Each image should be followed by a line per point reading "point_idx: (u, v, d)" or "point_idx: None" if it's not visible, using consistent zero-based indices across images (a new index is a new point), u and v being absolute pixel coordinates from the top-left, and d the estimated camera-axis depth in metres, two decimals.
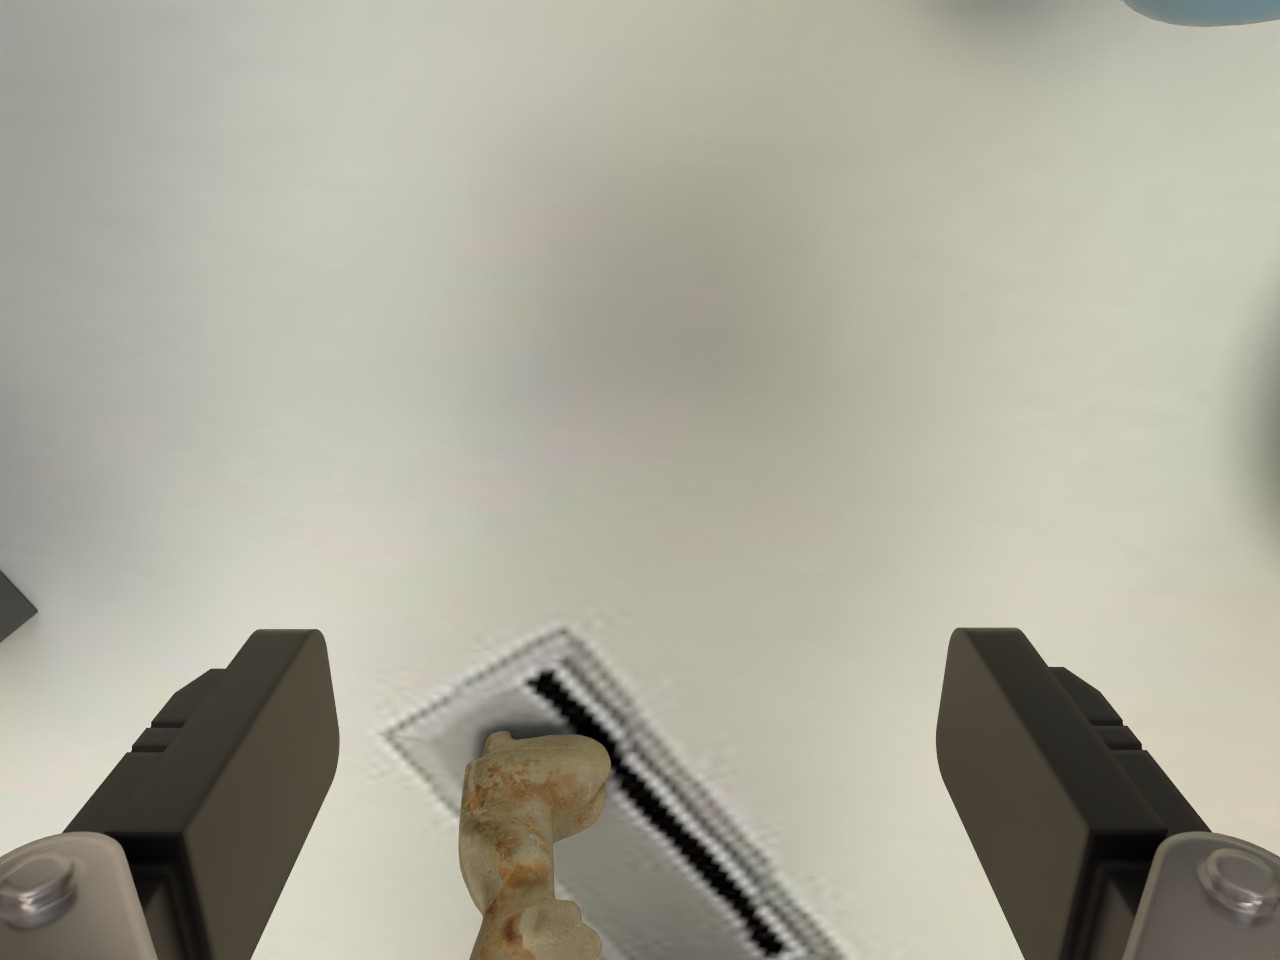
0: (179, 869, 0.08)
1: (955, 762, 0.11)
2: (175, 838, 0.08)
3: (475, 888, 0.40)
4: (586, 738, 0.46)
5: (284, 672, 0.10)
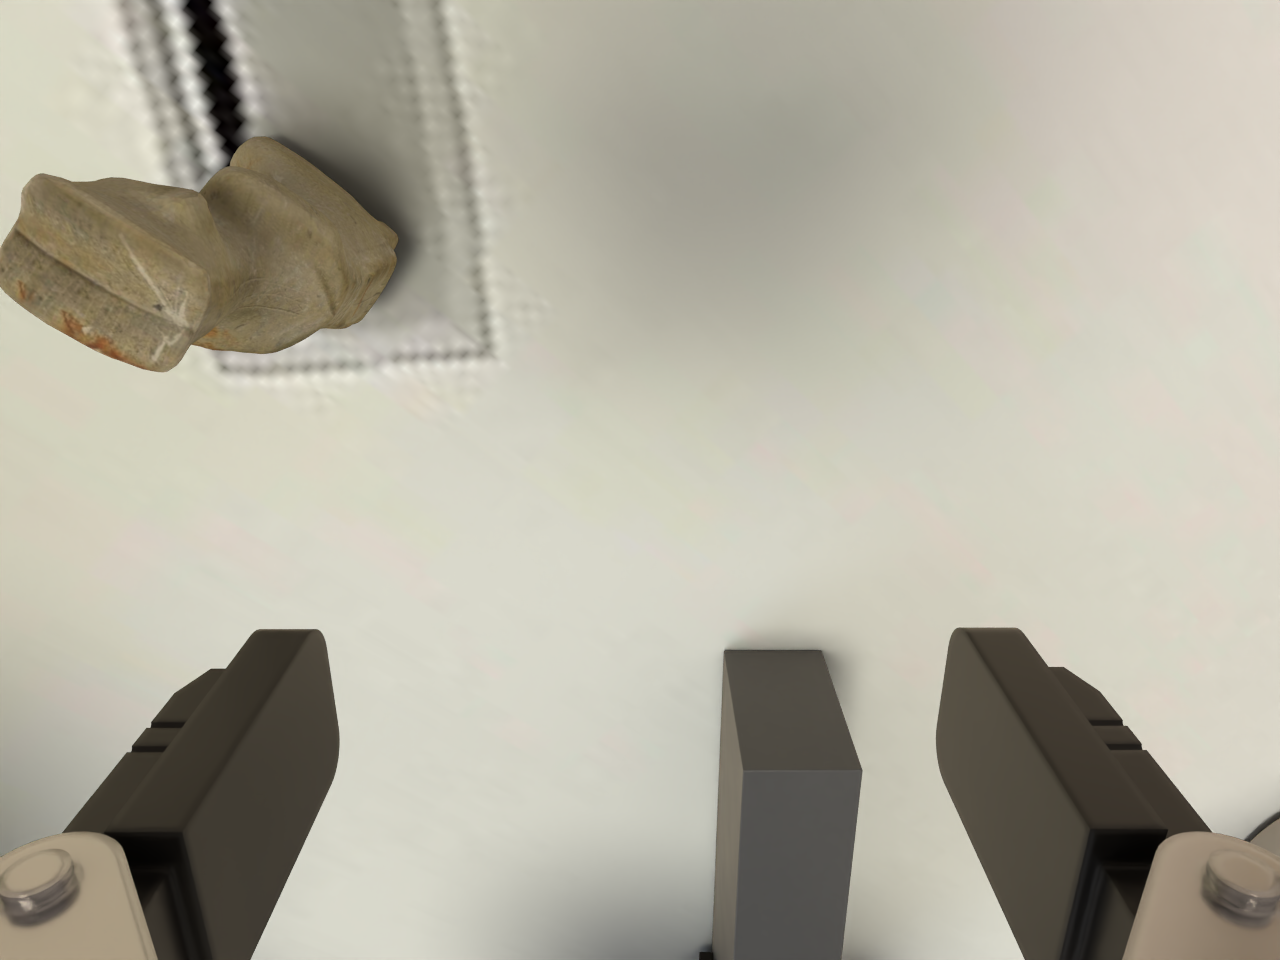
0: (179, 869, 0.08)
1: (955, 762, 0.11)
2: (175, 838, 0.08)
3: (297, 284, 0.29)
4: None
5: (284, 672, 0.10)
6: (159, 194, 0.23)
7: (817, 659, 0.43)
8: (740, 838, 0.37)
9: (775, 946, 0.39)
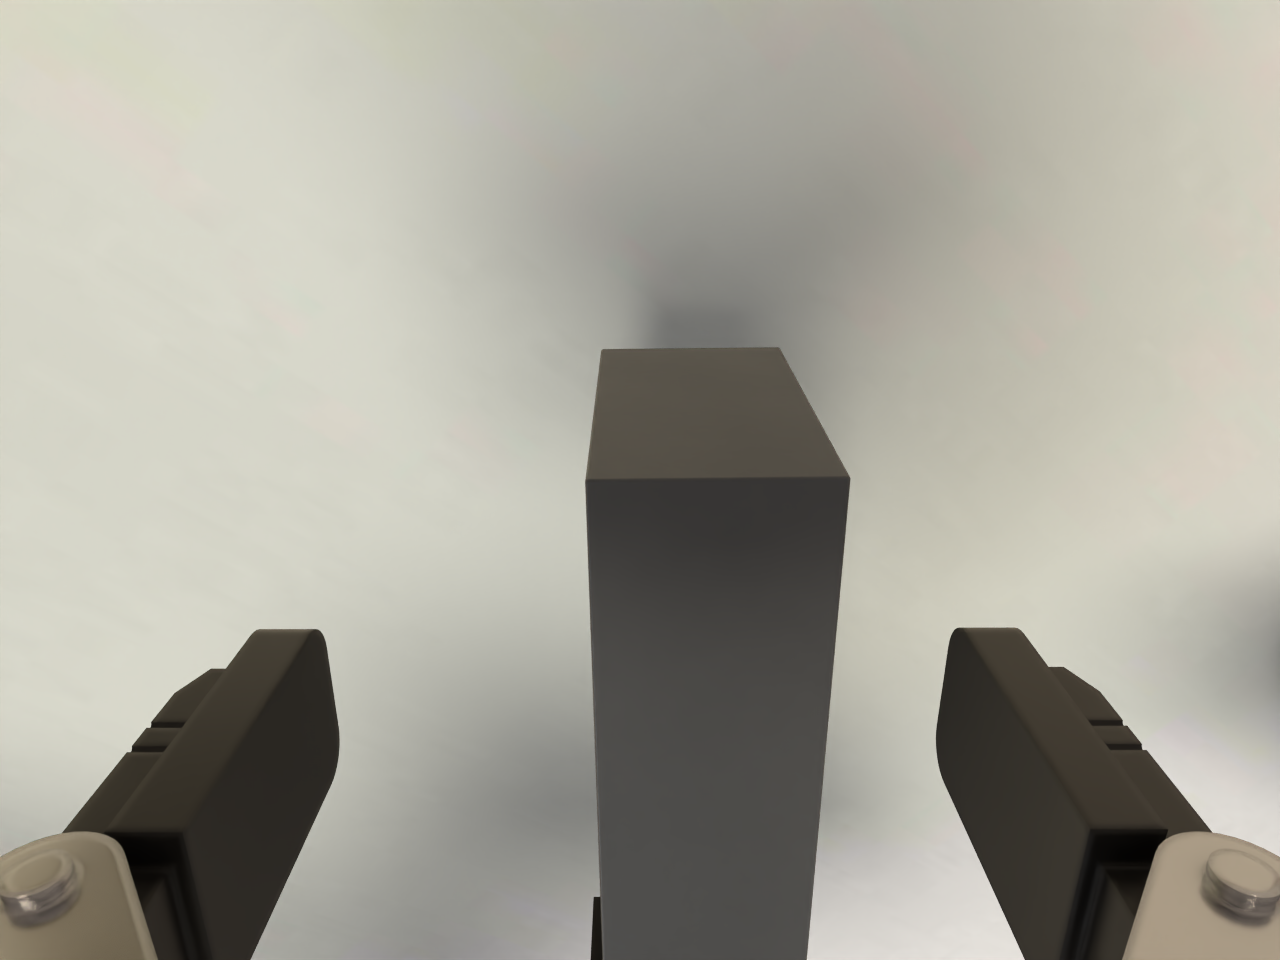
0: (179, 869, 0.08)
1: (955, 762, 0.11)
2: (175, 838, 0.08)
3: None
4: None
5: (284, 672, 0.10)
6: None
7: (770, 355, 0.23)
8: (593, 643, 0.18)
9: (680, 874, 0.20)
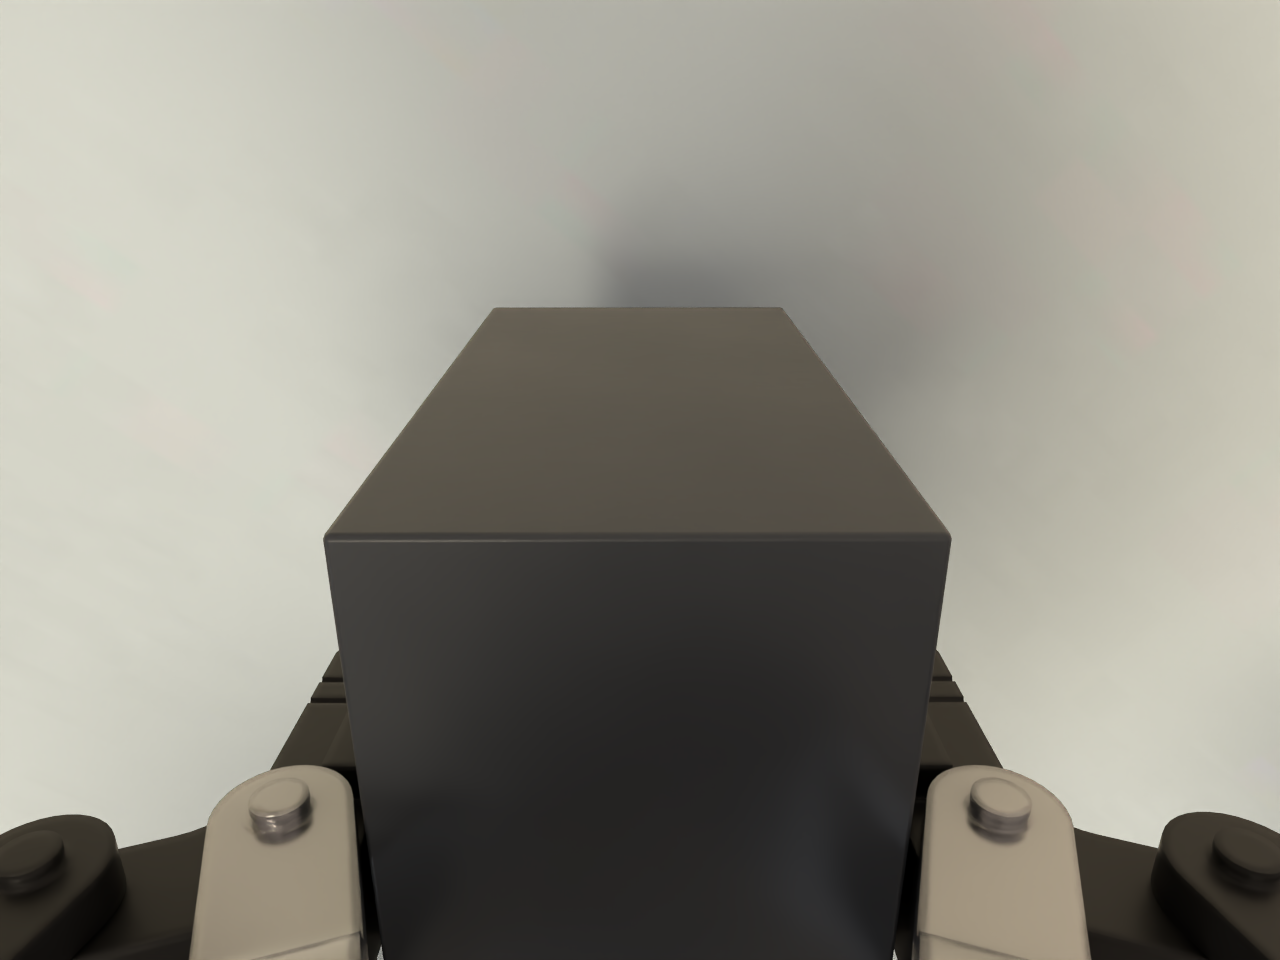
0: None
1: None
2: None
3: None
4: None
5: None
6: None
7: (767, 316, 0.14)
8: (376, 887, 0.08)
9: None
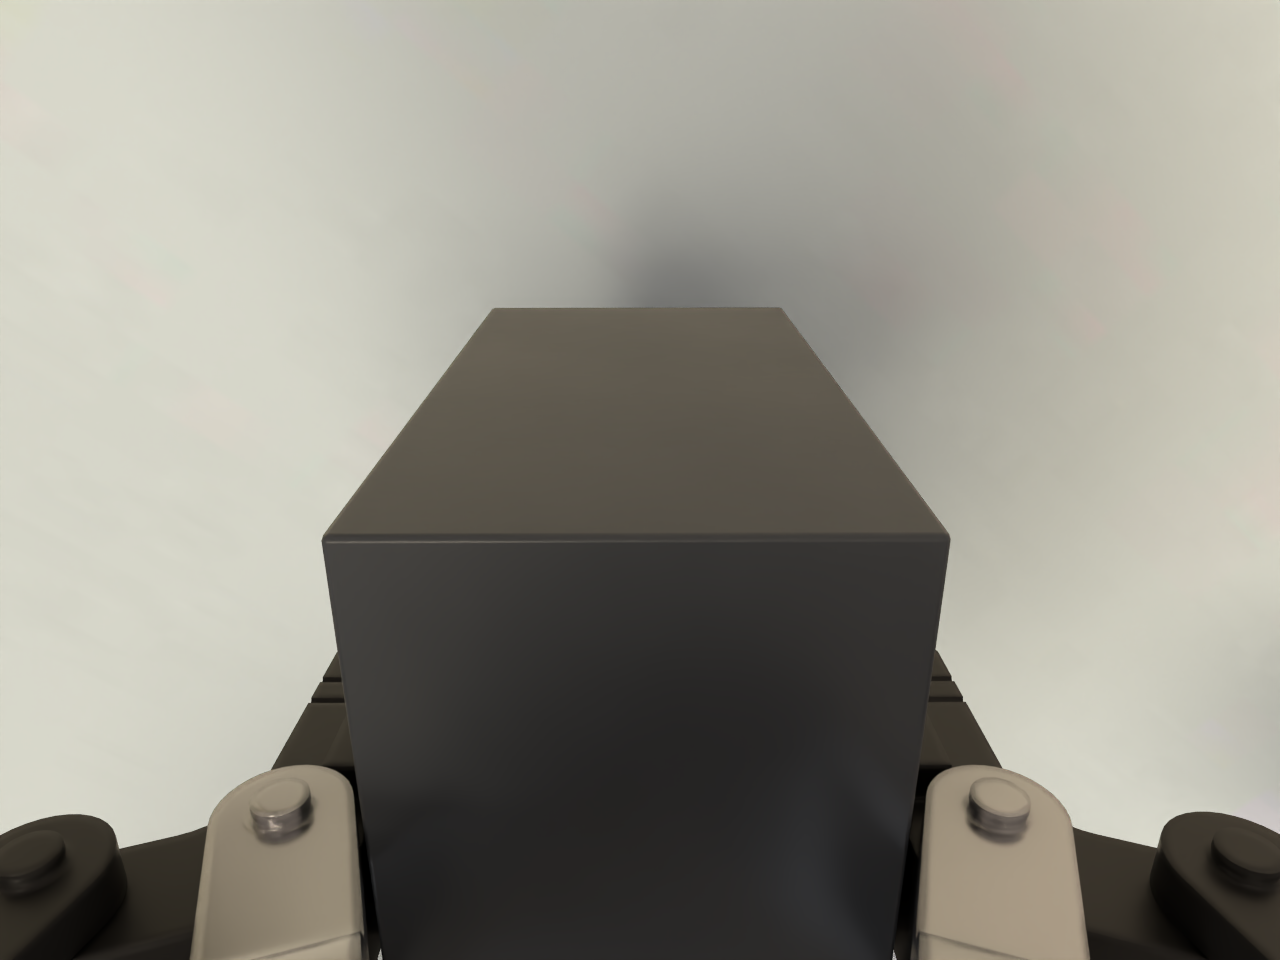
0: None
1: None
2: None
3: None
4: None
5: None
6: None
7: (767, 316, 0.14)
8: (375, 888, 0.08)
9: None
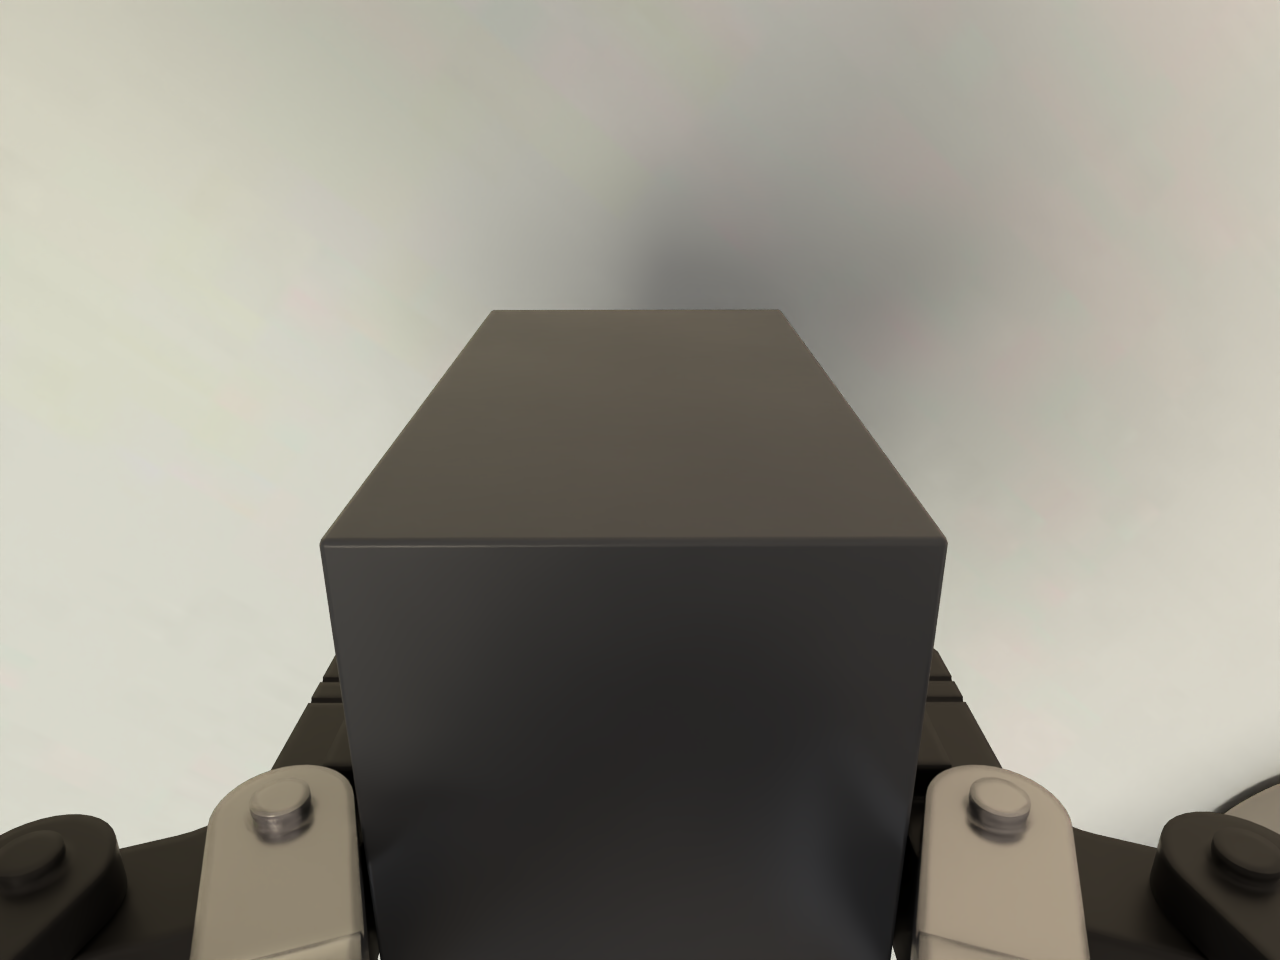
0: None
1: None
2: None
3: None
4: None
5: None
6: None
7: (765, 318, 0.14)
8: (373, 892, 0.08)
9: None
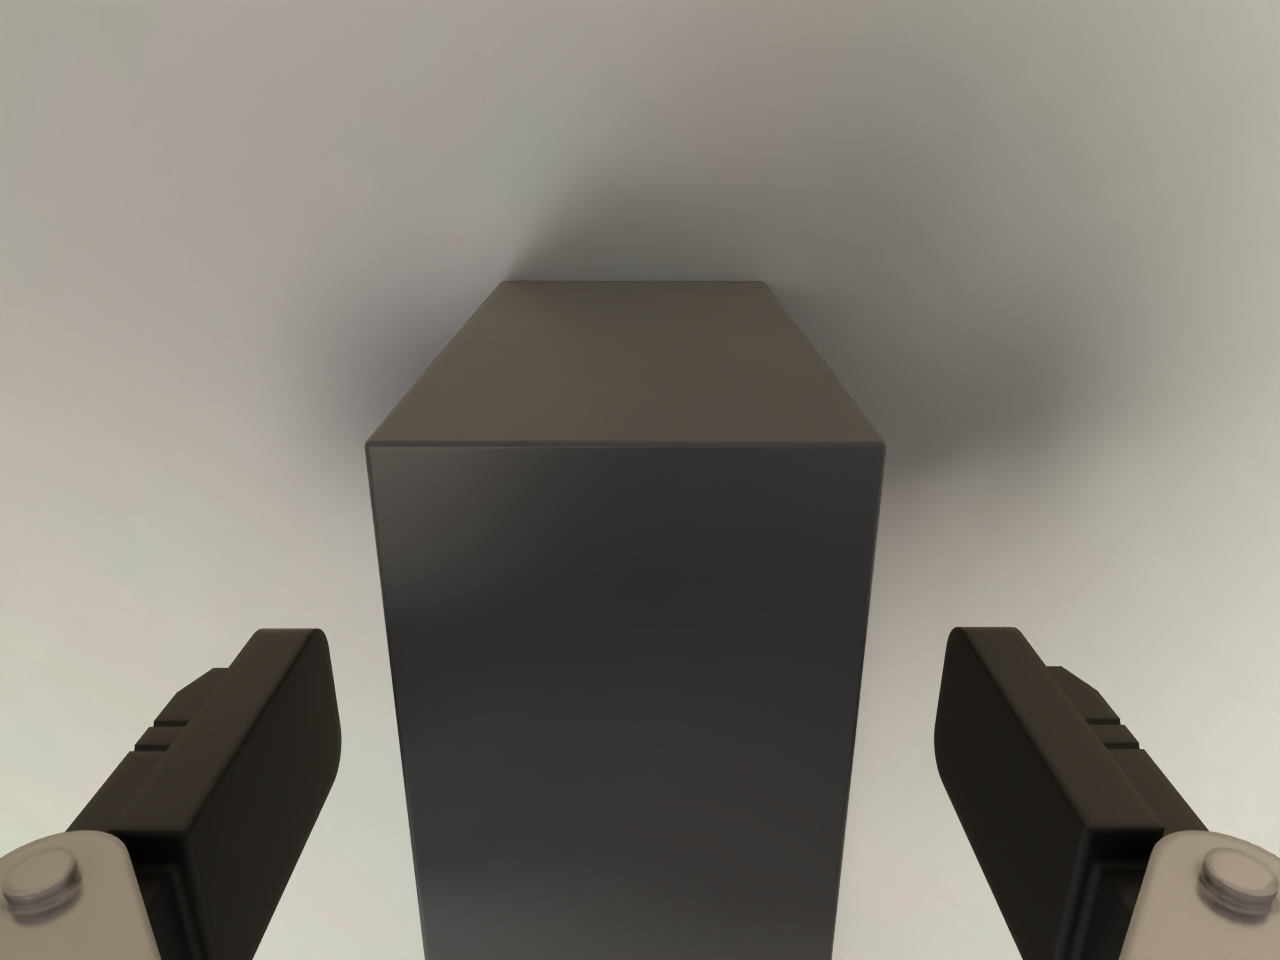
0: (182, 868, 0.08)
1: (953, 761, 0.11)
2: (178, 837, 0.08)
3: None
4: None
5: (286, 671, 0.10)
6: None
7: (750, 288, 0.15)
8: (403, 755, 0.09)
9: None
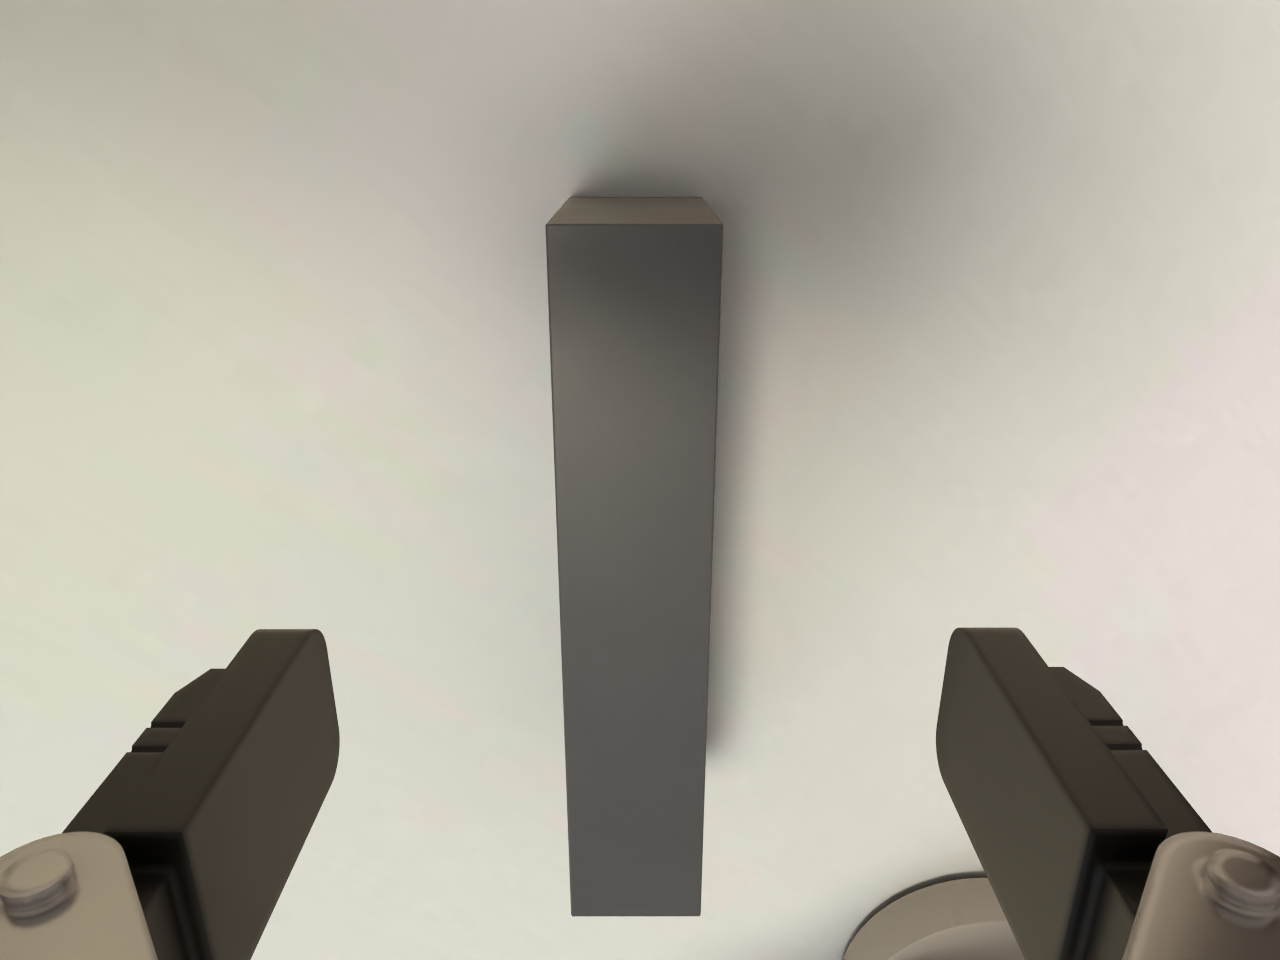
0: (179, 869, 0.08)
1: (955, 762, 0.11)
2: (175, 838, 0.08)
3: None
4: None
5: (284, 672, 0.10)
6: None
7: (693, 198, 0.31)
8: (551, 351, 0.25)
9: (615, 544, 0.28)
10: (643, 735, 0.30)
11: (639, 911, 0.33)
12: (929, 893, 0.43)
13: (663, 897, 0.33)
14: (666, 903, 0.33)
